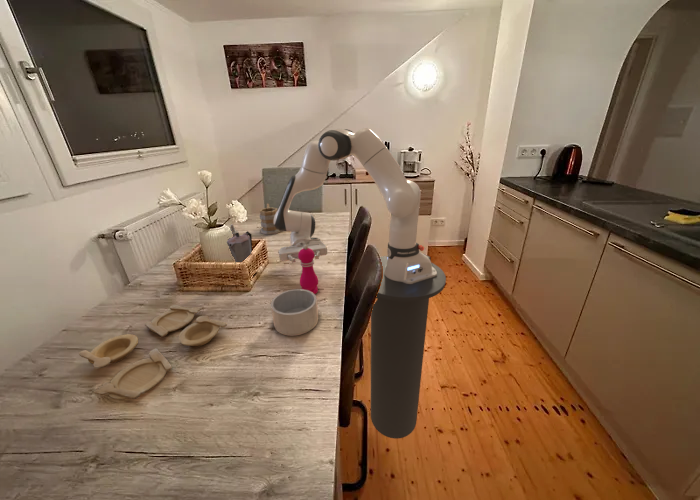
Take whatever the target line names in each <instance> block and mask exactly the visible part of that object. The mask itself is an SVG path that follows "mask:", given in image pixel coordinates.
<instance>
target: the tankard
mask: <svg viewBox="0 0 700 500" xmlns="http://www.w3.org/2000/svg"><path fill="white" fill-rule="evenodd" d="M277 210H278V208H277V207H270V203H266V207H264V208H262V209H261V208H260V210H259V219H260V220H261V221H260V227H261V228H260V233H261V234H263V235H267V236H268V235H276V234H279V233H281V232H282V231H279V230H278V229H277V228H276V227H275V226H274V216H275V214H276V212H277Z"/></svg>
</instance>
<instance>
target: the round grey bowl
mask: <svg viewBox="0 0 700 500" xmlns="http://www.w3.org/2000/svg"><path fill="white" fill-rule="evenodd" d="M270 310H271V315H272V321H273V326H274V329H275V331H277V332H278V334H281V335H284V336H289V337H290V336H293V337H295V336H300V335H303V334H306V333H308V332H310V331H311V330H313V329H314V328H315V327H316V326H317V324H318V323H319V310H318V298H317V295H316V294H314V293H313V292H311V291H309V290H304V289H302V288H294V289H288V290H284V291H282V292H280V293H278V294H277V295H276V296H274V297H273V298H272V300H271V302H270Z"/></svg>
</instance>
